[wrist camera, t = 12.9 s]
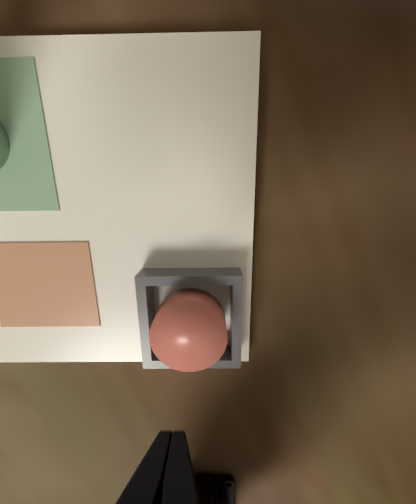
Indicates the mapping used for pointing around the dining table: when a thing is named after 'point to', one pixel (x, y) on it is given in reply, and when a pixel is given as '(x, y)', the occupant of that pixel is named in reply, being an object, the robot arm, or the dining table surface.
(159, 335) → the button
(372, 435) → the dining table surface
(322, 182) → the dining table surface
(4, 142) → the marker
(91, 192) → the white flat board
